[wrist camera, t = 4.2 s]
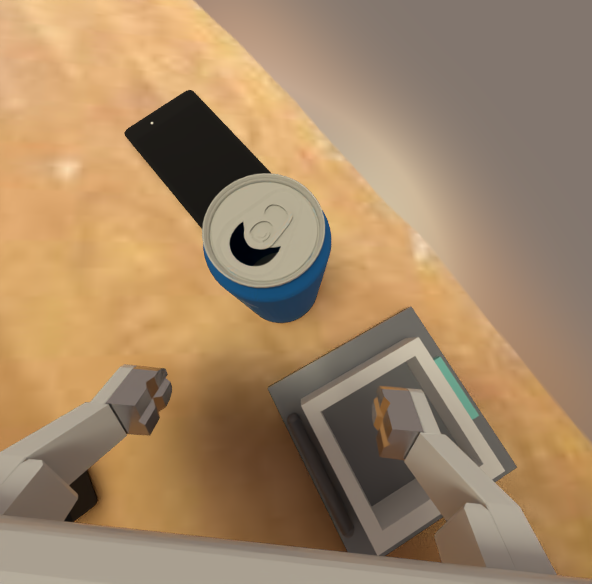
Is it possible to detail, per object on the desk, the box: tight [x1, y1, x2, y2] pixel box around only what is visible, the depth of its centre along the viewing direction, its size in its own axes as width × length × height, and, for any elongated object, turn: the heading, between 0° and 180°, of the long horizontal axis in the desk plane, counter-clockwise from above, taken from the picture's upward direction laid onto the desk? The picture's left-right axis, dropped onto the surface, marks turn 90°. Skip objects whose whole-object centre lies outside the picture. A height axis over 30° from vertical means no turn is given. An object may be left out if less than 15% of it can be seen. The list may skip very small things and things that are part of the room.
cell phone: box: [125, 90, 271, 228], centre depth 26 cm, size 9×18×1 cm, turn 40°
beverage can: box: [202, 173, 331, 323], centre depth 17 cm, size 6×6×12 cm
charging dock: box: [268, 307, 517, 556], centre depth 19 cm, size 14×14×3 cm
